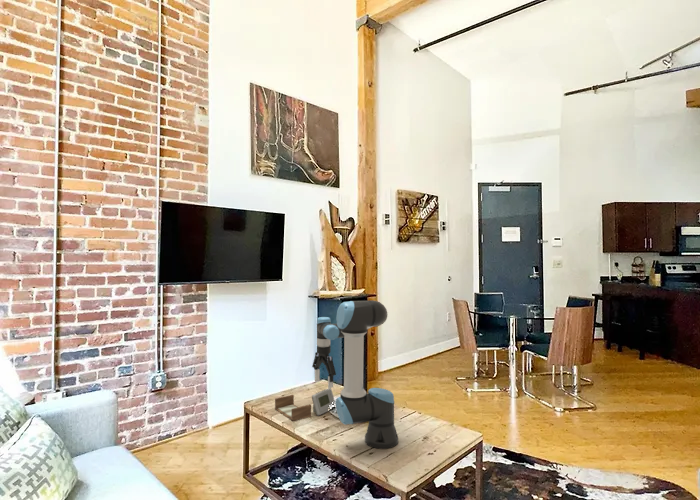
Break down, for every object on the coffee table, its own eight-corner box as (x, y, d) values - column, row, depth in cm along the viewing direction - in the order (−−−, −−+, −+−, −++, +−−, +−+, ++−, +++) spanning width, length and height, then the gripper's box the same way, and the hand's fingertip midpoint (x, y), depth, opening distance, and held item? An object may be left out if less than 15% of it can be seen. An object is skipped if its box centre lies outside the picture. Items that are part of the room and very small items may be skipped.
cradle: (311, 416, 217) (311, 404, 217) (292, 421, 210) (292, 409, 210) (292, 405, 233) (292, 394, 233) (275, 409, 227) (275, 398, 227)
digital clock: (317, 417, 215) (317, 397, 216) (306, 412, 222) (306, 393, 222) (340, 409, 227) (339, 390, 227) (329, 405, 233) (329, 386, 233)
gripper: (342, 348, 217) (342, 389, 217) (317, 340, 237) (317, 377, 237) (330, 351, 212) (330, 391, 212) (306, 342, 233) (306, 379, 232)
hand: (323, 384), depth 225 cm, fingers open, 13 cm apart
